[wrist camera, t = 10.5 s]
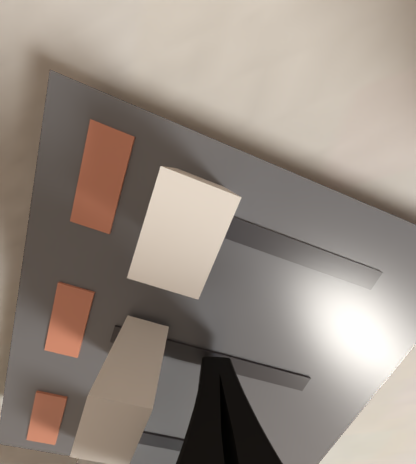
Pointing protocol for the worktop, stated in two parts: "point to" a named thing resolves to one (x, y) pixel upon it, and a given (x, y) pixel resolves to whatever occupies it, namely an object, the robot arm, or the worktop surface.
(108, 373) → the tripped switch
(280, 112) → the worktop surface
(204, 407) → the robot arm
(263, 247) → the switch panel
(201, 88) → the worktop surface
